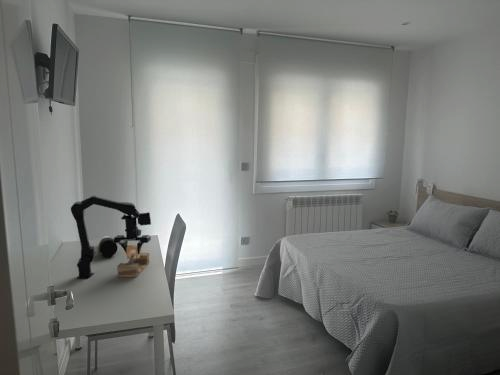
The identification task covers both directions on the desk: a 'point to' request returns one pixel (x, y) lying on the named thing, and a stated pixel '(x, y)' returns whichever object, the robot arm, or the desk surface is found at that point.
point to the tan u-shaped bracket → (132, 247)
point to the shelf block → (133, 265)
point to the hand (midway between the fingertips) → (133, 254)
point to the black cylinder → (107, 246)
